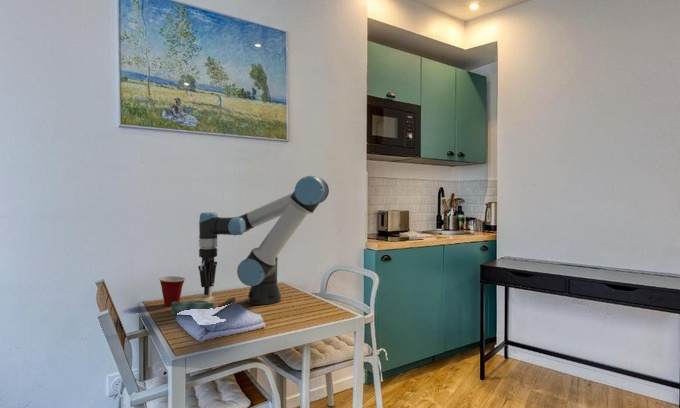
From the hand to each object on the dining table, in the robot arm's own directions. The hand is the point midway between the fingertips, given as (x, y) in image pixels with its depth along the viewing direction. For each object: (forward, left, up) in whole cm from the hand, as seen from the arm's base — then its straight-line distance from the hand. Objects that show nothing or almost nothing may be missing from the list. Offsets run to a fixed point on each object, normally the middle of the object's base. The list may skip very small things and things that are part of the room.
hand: (207, 301), depth 173 cm
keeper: (0, +4, -2) cm, 5 cm away
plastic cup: (+17, 0, -2) cm, 17 cm away
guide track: (0, +2, -2) cm, 3 cm away
